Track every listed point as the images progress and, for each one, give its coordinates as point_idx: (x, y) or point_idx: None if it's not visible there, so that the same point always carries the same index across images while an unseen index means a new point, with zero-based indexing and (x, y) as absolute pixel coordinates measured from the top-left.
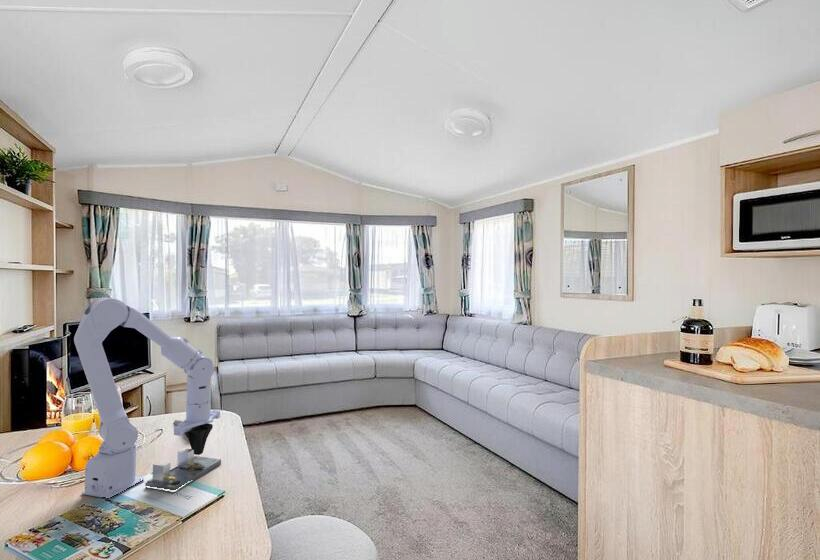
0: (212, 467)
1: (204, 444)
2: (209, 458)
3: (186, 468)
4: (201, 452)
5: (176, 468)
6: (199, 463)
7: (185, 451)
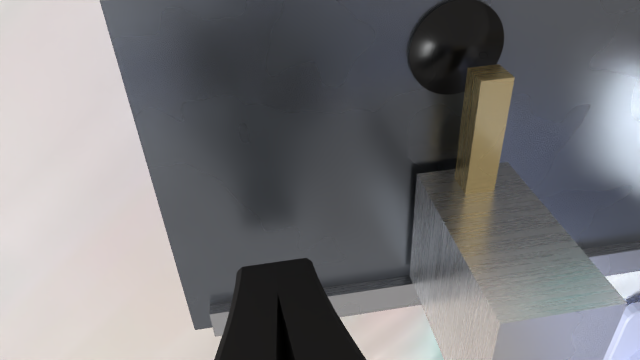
0: None
1: (235, 357)
2: (166, 171)
3: None
4: (275, 272)
5: None
6: (336, 162)
7: (589, 350)
